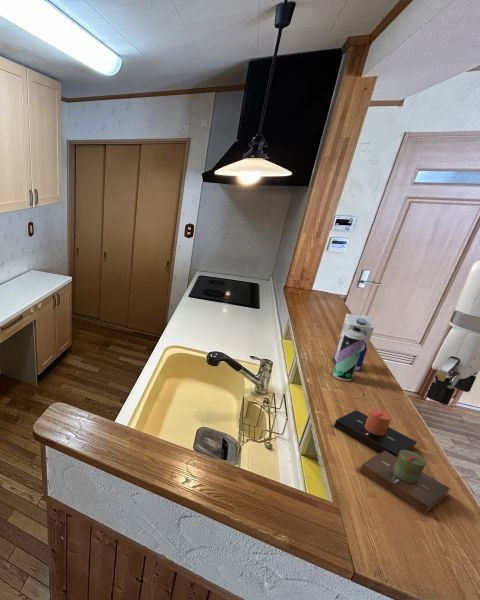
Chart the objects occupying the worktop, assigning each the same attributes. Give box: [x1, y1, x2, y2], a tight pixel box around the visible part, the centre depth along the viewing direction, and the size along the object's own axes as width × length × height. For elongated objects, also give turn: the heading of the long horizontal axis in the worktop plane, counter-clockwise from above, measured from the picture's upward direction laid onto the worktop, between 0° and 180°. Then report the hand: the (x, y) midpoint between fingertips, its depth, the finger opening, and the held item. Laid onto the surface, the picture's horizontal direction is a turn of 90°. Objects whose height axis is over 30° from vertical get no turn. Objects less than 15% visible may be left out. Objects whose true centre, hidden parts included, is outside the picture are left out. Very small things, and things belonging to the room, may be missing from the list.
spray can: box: [332, 326, 365, 382], centre depth 114 cm, size 6×6×20 cm
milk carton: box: [333, 313, 375, 372], centre depth 121 cm, size 7×7×20 cm
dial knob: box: [364, 408, 393, 436], centre depth 88 cm, size 4×4×6 cm
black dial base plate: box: [333, 409, 417, 457], centre depth 89 cm, size 14×10×3 cm
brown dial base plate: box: [359, 451, 451, 515], centre depth 76 cm, size 12×10×3 cm
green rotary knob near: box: [392, 450, 427, 483], centre depth 74 cm, size 4×4×6 cm
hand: (447, 394), depth 69 cm, fingers open, 9 cm apart
